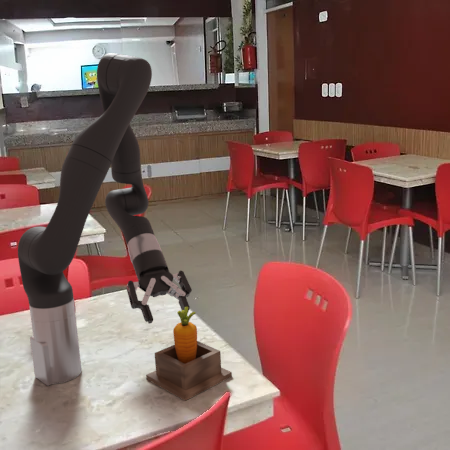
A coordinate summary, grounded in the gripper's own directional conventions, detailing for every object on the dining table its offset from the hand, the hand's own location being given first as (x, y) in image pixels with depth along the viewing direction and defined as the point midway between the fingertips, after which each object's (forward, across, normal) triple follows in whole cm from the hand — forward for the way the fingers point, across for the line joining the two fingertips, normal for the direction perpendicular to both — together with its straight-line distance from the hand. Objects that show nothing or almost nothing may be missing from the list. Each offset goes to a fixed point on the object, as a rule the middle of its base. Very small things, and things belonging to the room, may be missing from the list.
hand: (169, 317), depth 123 cm
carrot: (+13, 0, +1) cm, 13 cm away
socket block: (+14, 0, +1) cm, 14 cm away
